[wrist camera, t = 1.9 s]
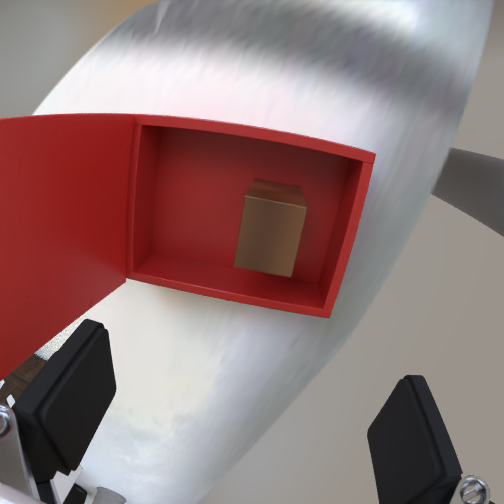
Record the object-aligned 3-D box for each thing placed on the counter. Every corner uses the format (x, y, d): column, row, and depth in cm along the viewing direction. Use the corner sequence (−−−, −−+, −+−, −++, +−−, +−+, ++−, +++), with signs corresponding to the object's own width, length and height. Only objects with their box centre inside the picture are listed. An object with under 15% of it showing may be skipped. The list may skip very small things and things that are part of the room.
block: (301, 186, 26) (307, 207, 20) (289, 241, 28) (291, 278, 22) (253, 177, 26) (244, 195, 20) (244, 233, 28) (233, 267, 22)
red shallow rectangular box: (358, 148, 25) (376, 153, 20) (322, 288, 30) (329, 318, 25) (159, 114, 25) (133, 113, 20) (147, 254, 31) (124, 278, 26)
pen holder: (92, 497, 66) (83, 520, 57) (68, 487, 66) (58, 508, 57) (83, 486, 62) (71, 510, 53) (58, 474, 63) (46, 497, 53)
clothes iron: (36, 399, 45) (4, 446, 33) (18, 341, 39) (-28, 392, 27) (69, 417, 45) (38, 468, 33) (54, 360, 39) (9, 420, 27)
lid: (-130, 147, 3) (-134, 147, 4) (-43, 420, 9) (-76, 373, 10) (134, 113, 20) (86, 112, 21) (126, 281, 25) (83, 265, 26)
